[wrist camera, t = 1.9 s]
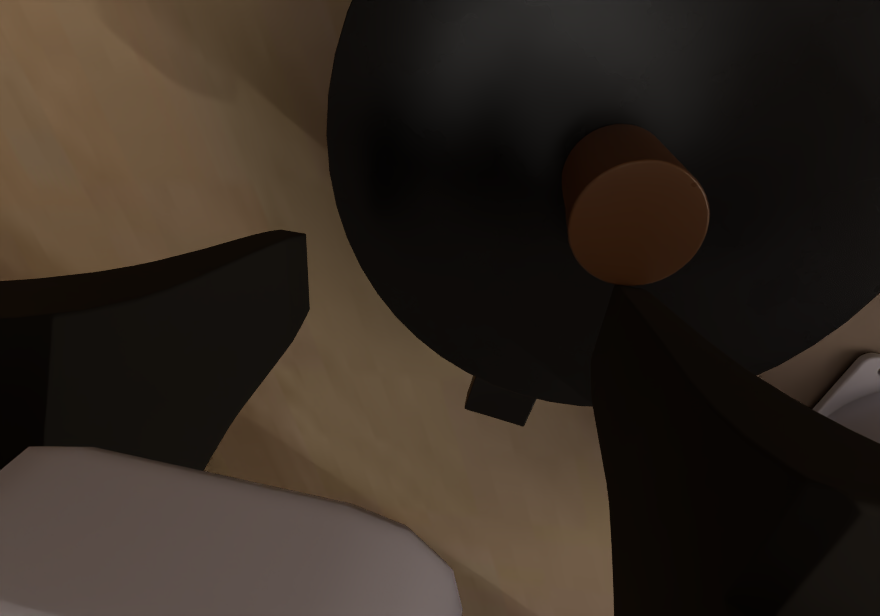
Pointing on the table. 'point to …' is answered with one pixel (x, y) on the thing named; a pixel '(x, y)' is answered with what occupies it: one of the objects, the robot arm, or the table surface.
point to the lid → (609, 173)
